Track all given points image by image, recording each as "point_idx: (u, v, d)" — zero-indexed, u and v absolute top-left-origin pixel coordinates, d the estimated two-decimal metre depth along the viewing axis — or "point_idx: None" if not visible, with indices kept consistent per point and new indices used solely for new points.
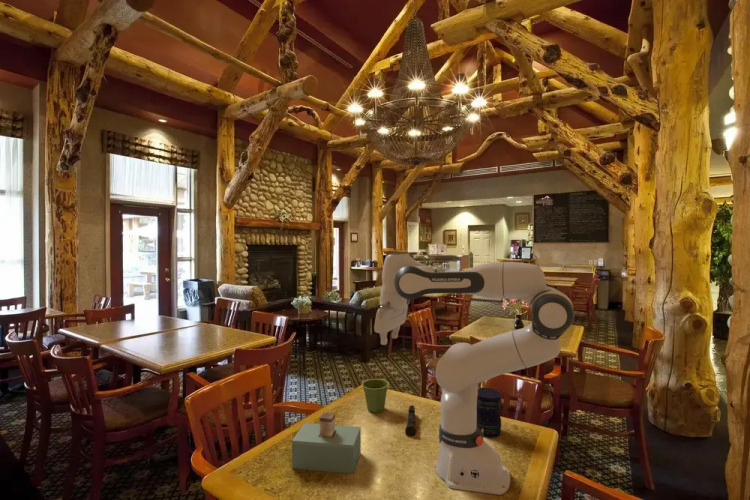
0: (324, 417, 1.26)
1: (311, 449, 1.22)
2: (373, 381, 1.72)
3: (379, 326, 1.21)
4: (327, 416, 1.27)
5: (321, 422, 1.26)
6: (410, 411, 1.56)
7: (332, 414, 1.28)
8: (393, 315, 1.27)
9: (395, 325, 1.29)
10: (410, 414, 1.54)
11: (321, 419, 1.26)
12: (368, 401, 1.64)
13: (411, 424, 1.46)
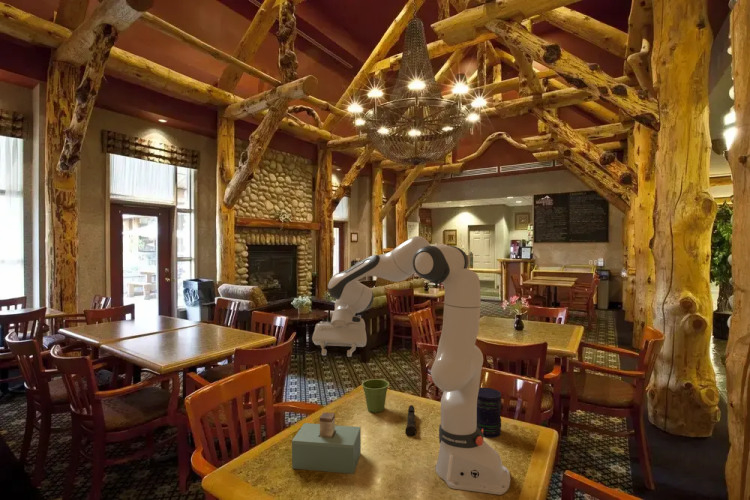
0: (324, 417, 1.26)
1: (311, 449, 1.22)
2: (373, 381, 1.72)
3: None
4: (327, 416, 1.27)
5: (321, 422, 1.26)
6: (410, 411, 1.56)
7: (332, 414, 1.28)
8: (333, 330, 1.45)
9: (337, 338, 1.42)
10: (410, 414, 1.54)
11: (321, 419, 1.26)
12: (368, 401, 1.64)
13: (411, 424, 1.46)
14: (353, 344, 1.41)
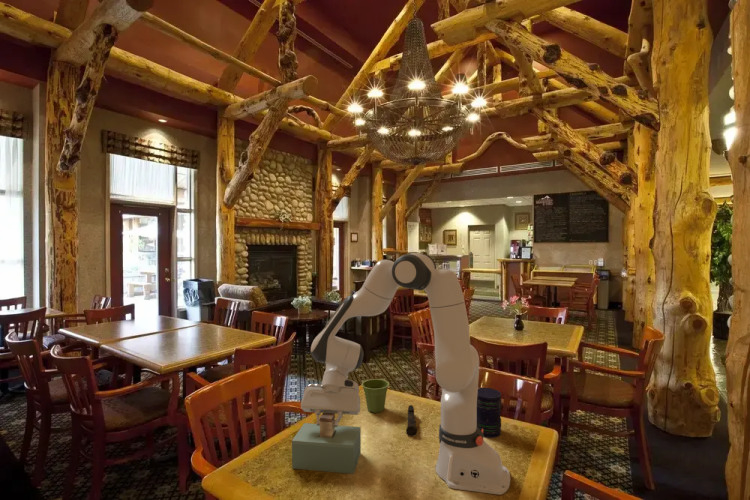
0: (324, 417, 1.26)
1: (311, 449, 1.22)
2: (373, 381, 1.72)
3: None
4: (327, 416, 1.27)
5: (321, 422, 1.26)
6: (410, 411, 1.56)
7: (332, 414, 1.28)
8: (324, 395, 1.33)
9: (328, 406, 1.30)
10: (410, 414, 1.54)
11: (321, 419, 1.26)
12: (368, 401, 1.64)
13: (412, 424, 1.46)
14: (339, 412, 1.29)
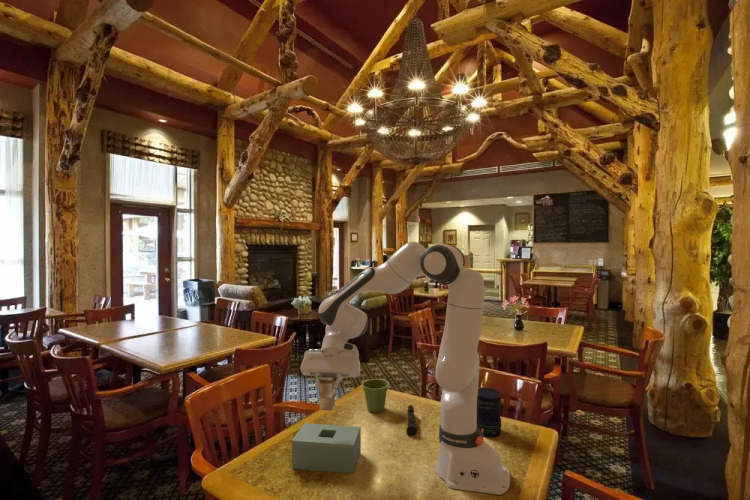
0: (324, 379, 1.26)
1: (311, 449, 1.22)
2: (373, 381, 1.72)
3: None
4: (327, 378, 1.27)
5: (321, 384, 1.26)
6: (409, 411, 1.56)
7: (332, 376, 1.28)
8: (324, 359, 1.32)
9: (327, 368, 1.29)
10: (410, 414, 1.54)
11: (321, 381, 1.26)
12: (368, 401, 1.64)
13: (412, 424, 1.46)
14: (339, 375, 1.28)
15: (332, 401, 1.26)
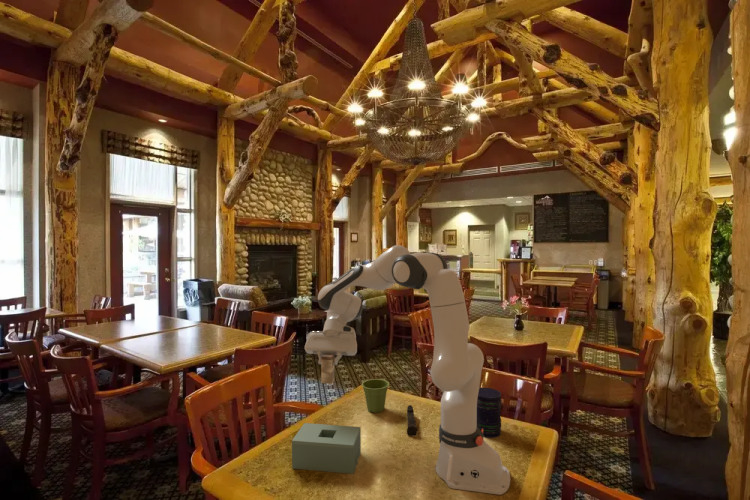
0: (325, 356, 1.44)
1: (311, 449, 1.22)
2: (373, 381, 1.72)
3: None
4: (328, 355, 1.45)
5: (322, 360, 1.44)
6: (409, 411, 1.56)
7: (332, 354, 1.46)
8: (325, 339, 1.51)
9: (328, 347, 1.48)
10: (409, 414, 1.54)
11: (322, 357, 1.44)
12: (368, 401, 1.64)
13: (412, 424, 1.46)
14: (338, 353, 1.46)
15: (332, 375, 1.44)
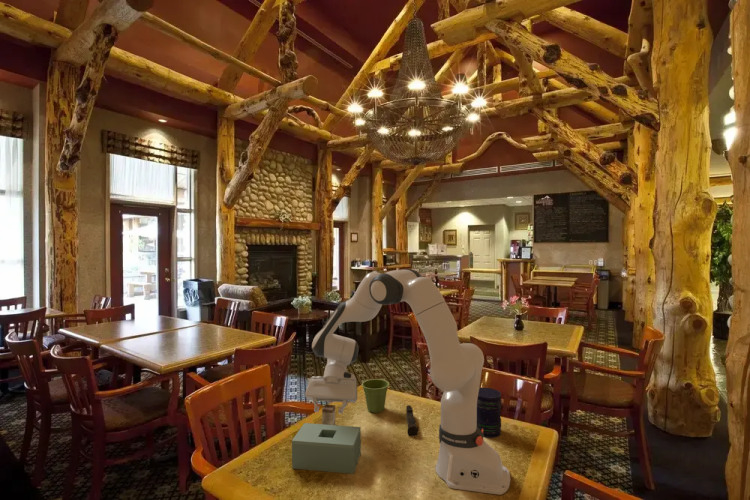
0: (326, 408, 1.44)
1: (311, 449, 1.22)
2: (373, 381, 1.72)
3: None
4: (328, 407, 1.45)
5: (323, 413, 1.44)
6: (408, 411, 1.56)
7: (333, 406, 1.47)
8: (326, 385, 1.51)
9: (329, 395, 1.48)
10: (409, 414, 1.54)
11: (323, 410, 1.44)
12: (368, 401, 1.64)
13: (413, 424, 1.46)
14: (344, 401, 1.47)
15: None
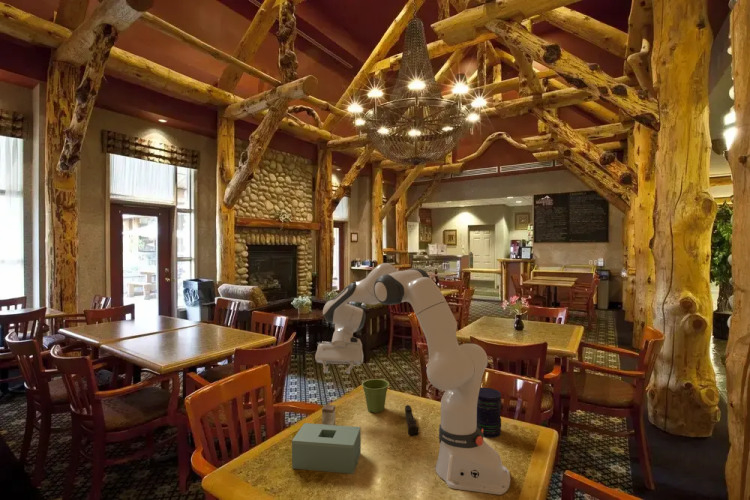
0: (326, 408, 1.44)
1: (311, 449, 1.22)
2: (373, 381, 1.72)
3: None
4: (328, 407, 1.45)
5: (323, 413, 1.44)
6: (407, 411, 1.56)
7: (333, 406, 1.47)
8: (334, 349, 1.64)
9: (337, 357, 1.61)
10: (408, 414, 1.54)
11: (323, 410, 1.44)
12: (368, 401, 1.64)
13: (413, 424, 1.46)
14: (351, 362, 1.59)
15: None
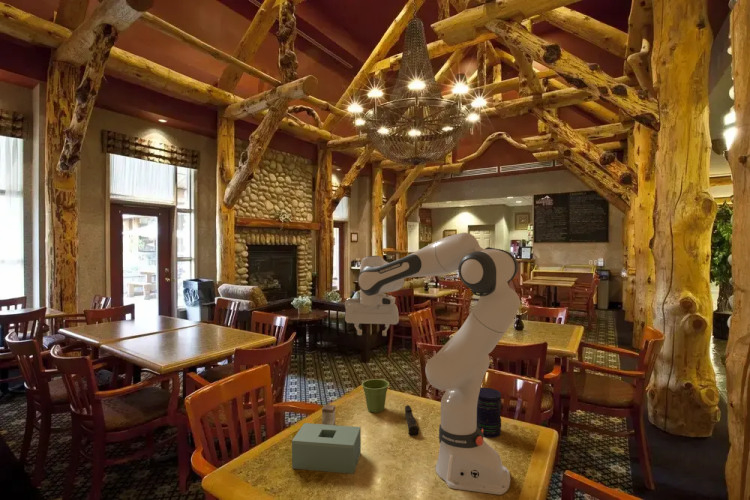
0: (326, 408, 1.44)
1: (311, 449, 1.22)
2: (373, 381, 1.72)
3: None
4: (328, 407, 1.45)
5: (323, 413, 1.44)
6: (407, 411, 1.56)
7: (333, 406, 1.47)
8: (365, 311, 1.44)
9: (370, 321, 1.44)
10: (408, 414, 1.54)
11: (323, 410, 1.44)
12: (368, 401, 1.64)
13: (414, 424, 1.46)
14: (387, 325, 1.44)
15: None
